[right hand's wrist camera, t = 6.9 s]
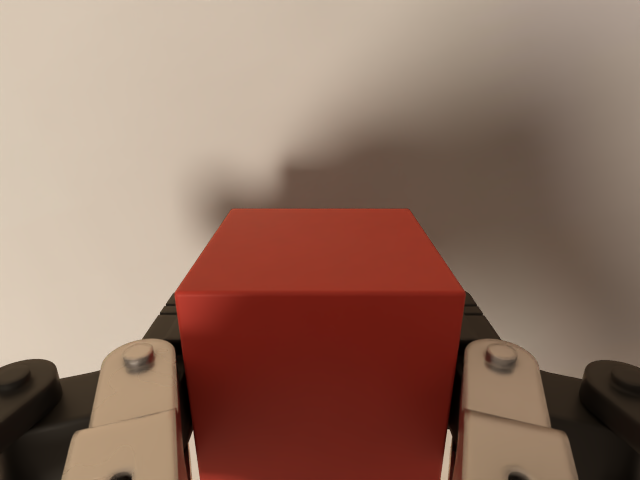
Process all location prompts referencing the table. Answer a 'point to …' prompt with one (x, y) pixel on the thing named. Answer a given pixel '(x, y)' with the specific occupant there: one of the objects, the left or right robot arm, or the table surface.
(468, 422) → the right robot arm
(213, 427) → the block
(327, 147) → the table surface
